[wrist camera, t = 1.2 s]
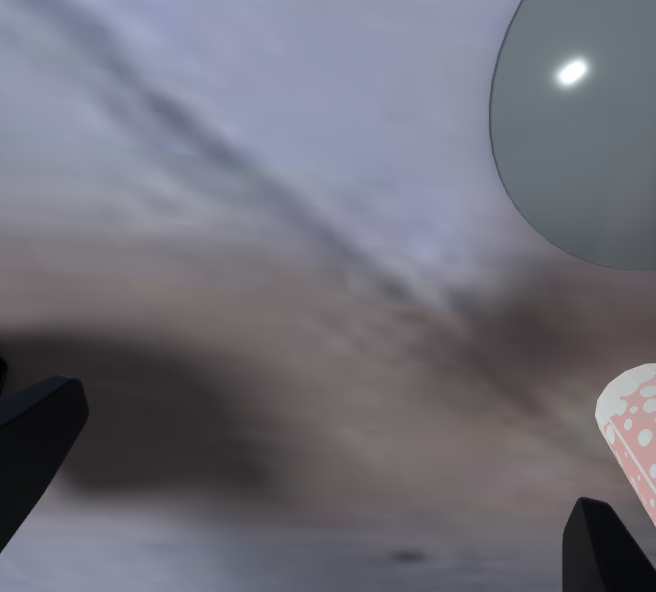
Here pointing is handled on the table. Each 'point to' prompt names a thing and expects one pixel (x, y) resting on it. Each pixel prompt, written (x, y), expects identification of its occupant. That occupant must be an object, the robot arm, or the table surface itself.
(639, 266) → the coaster
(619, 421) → the beverage cup
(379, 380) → the table surface
